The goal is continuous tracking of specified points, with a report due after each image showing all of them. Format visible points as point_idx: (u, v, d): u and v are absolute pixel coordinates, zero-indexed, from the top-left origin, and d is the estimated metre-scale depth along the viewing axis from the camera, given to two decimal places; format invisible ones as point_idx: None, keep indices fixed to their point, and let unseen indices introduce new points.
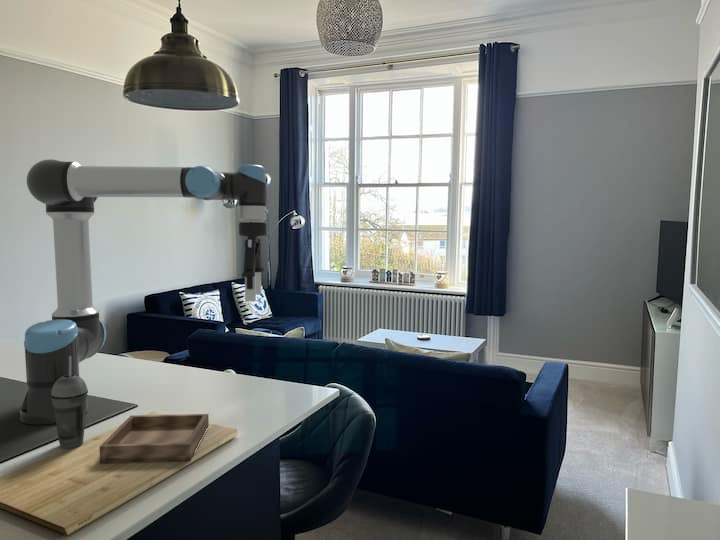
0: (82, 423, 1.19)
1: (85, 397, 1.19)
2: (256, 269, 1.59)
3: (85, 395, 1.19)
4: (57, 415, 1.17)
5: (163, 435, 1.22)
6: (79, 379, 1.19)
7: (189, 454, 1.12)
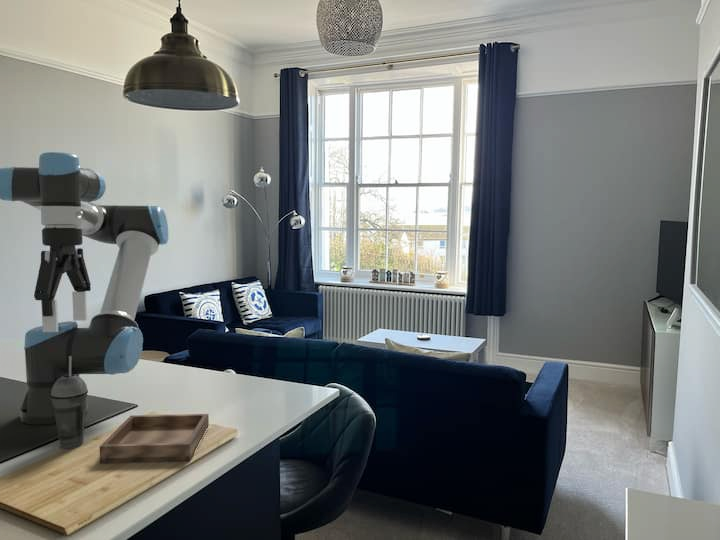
0: (82, 423, 1.19)
1: (85, 397, 1.19)
2: (79, 288, 1.24)
3: (85, 395, 1.19)
4: (57, 415, 1.17)
5: (163, 435, 1.22)
6: (79, 379, 1.19)
7: (189, 454, 1.12)
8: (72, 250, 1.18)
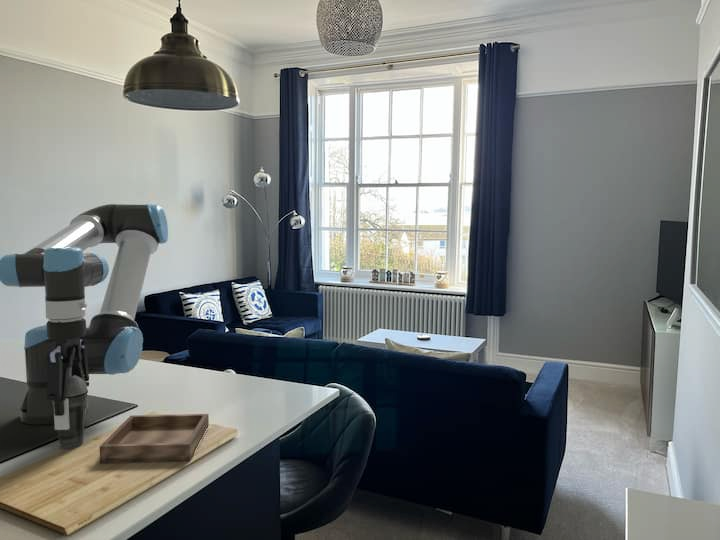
0: (82, 423, 1.19)
1: (85, 397, 1.19)
2: None
3: (85, 395, 1.19)
4: None
5: (163, 435, 1.22)
6: (79, 379, 1.19)
7: (189, 454, 1.12)
8: (77, 338, 1.20)
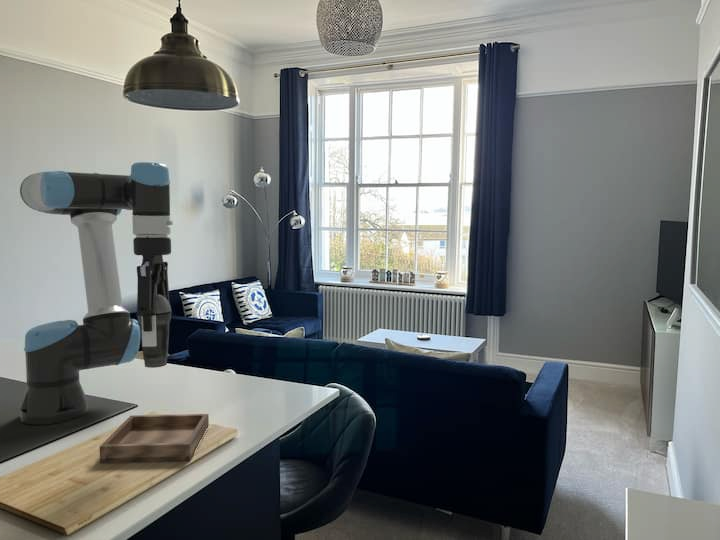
0: (167, 342, 1.18)
1: (170, 316, 1.18)
2: None
3: (170, 314, 1.18)
4: None
5: (163, 435, 1.22)
6: (164, 298, 1.17)
7: (189, 454, 1.12)
8: (161, 257, 1.19)
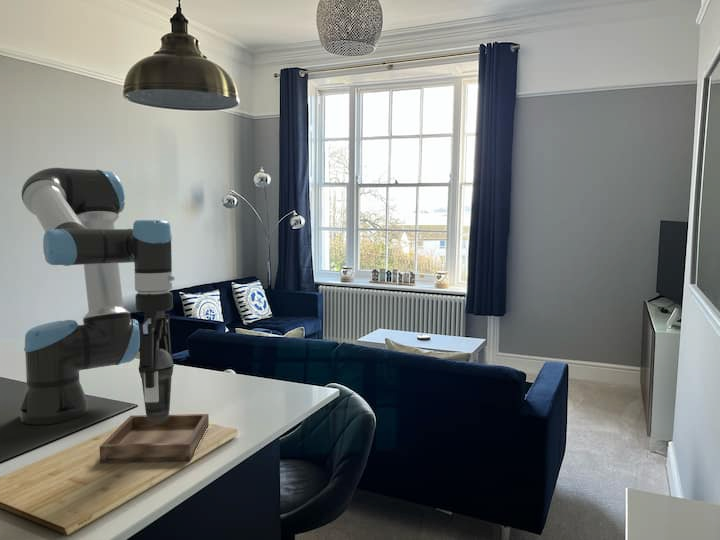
0: (169, 396, 1.19)
1: (172, 370, 1.19)
2: None
3: (172, 368, 1.19)
4: None
5: (163, 435, 1.22)
6: (166, 352, 1.18)
7: (189, 454, 1.12)
8: (162, 312, 1.20)
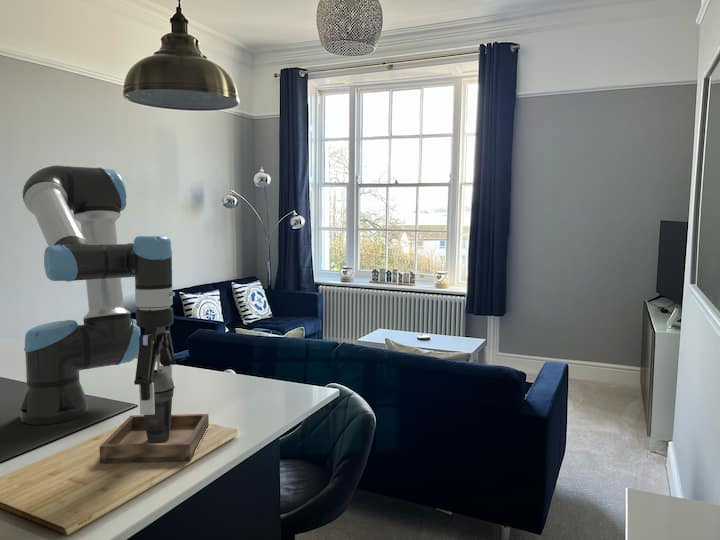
0: (169, 418, 1.19)
1: (172, 392, 1.19)
2: (166, 362, 1.26)
3: (172, 390, 1.19)
4: None
5: None
6: (167, 374, 1.19)
7: (189, 454, 1.12)
8: (163, 329, 1.20)
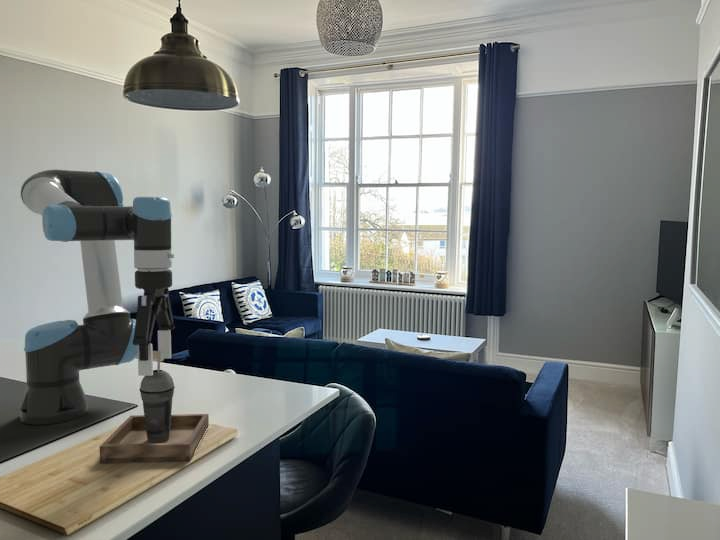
0: (169, 418, 1.19)
1: (172, 392, 1.19)
2: (164, 326, 1.25)
3: (173, 390, 1.19)
4: (146, 410, 1.17)
5: None
6: (167, 374, 1.19)
7: (189, 454, 1.12)
8: (161, 291, 1.19)
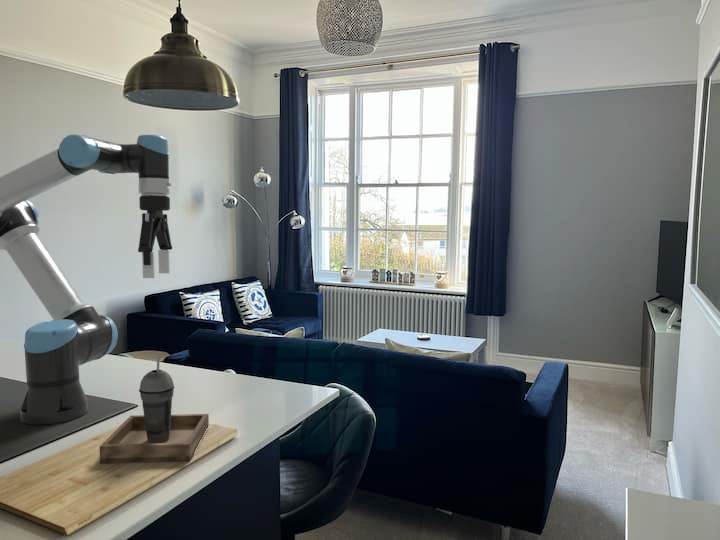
0: (169, 418, 1.19)
1: (172, 392, 1.19)
2: (164, 246, 1.52)
3: (172, 390, 1.19)
4: (146, 410, 1.17)
5: None
6: (166, 374, 1.19)
7: (189, 454, 1.12)
8: (161, 214, 1.46)
